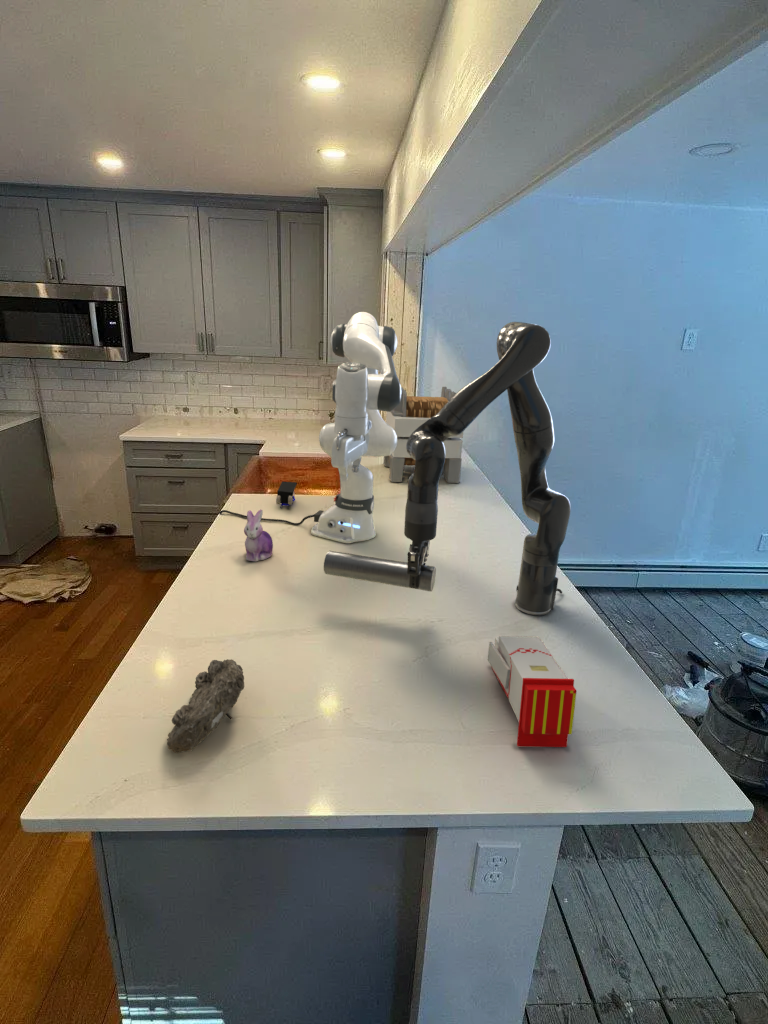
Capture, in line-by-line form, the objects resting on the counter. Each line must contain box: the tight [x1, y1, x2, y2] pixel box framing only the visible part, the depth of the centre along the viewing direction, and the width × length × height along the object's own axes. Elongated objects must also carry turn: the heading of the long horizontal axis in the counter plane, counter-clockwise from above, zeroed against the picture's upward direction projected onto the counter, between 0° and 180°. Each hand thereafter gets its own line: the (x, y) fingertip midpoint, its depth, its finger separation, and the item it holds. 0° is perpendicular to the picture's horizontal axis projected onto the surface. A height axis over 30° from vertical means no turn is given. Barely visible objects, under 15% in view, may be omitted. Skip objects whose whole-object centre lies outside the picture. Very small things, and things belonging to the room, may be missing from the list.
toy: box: [486, 635, 577, 748], centre depth 115 cm, size 12×13×30 cm
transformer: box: [383, 386, 465, 484], centre depth 268 cm, size 34×33×41 cm
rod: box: [323, 550, 437, 592], centre depth 140 cm, size 27×6×6 cm, turn 74°
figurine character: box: [275, 480, 298, 509], centre depth 223 cm, size 7×8×15 cm
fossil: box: [166, 658, 245, 754], centre depth 106 cm, size 22×10×15 cm
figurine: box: [243, 508, 274, 562], centre depth 175 cm, size 9×10×15 cm
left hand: (349, 476), depth 155 cm, fingers open, 8 cm apart
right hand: (417, 581), depth 138 cm, fingers closed on rod, 6 cm apart
